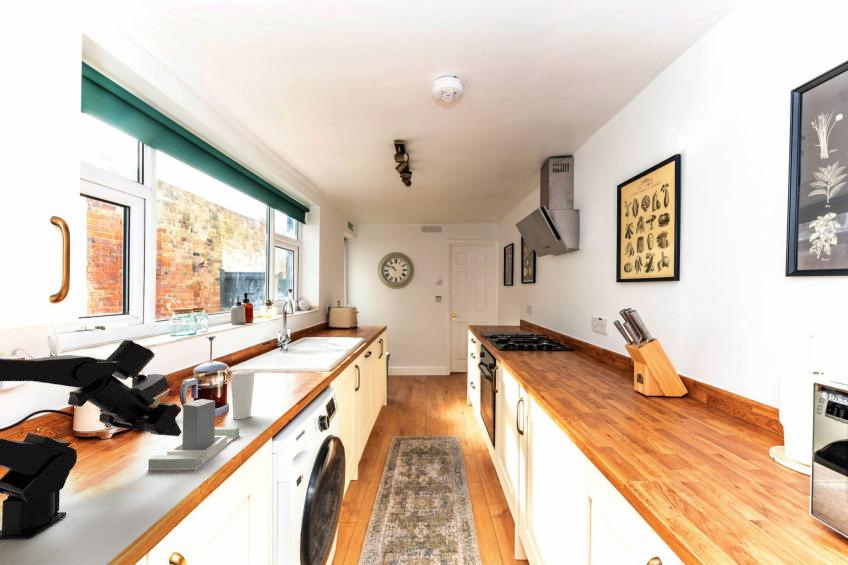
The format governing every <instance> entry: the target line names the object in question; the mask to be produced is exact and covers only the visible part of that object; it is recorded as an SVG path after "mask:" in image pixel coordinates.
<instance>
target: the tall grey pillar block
mask: <svg viewBox="0 0 848 565" xmlns="http://www.w3.org/2000/svg"><path fill="white" fill-rule="evenodd" d="M182 405H183V407H182V408H183V409H182V411H183V412H182V442H183V445H182V450H206V449H207V448H208V447H210V446H211V445H212V444H214V435H215V427H216V424H215V423H216V421H215V420H216V400H211V399H204V398H201V399H197V400H193V401H190V402H187V403H183V404H182Z"/></svg>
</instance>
